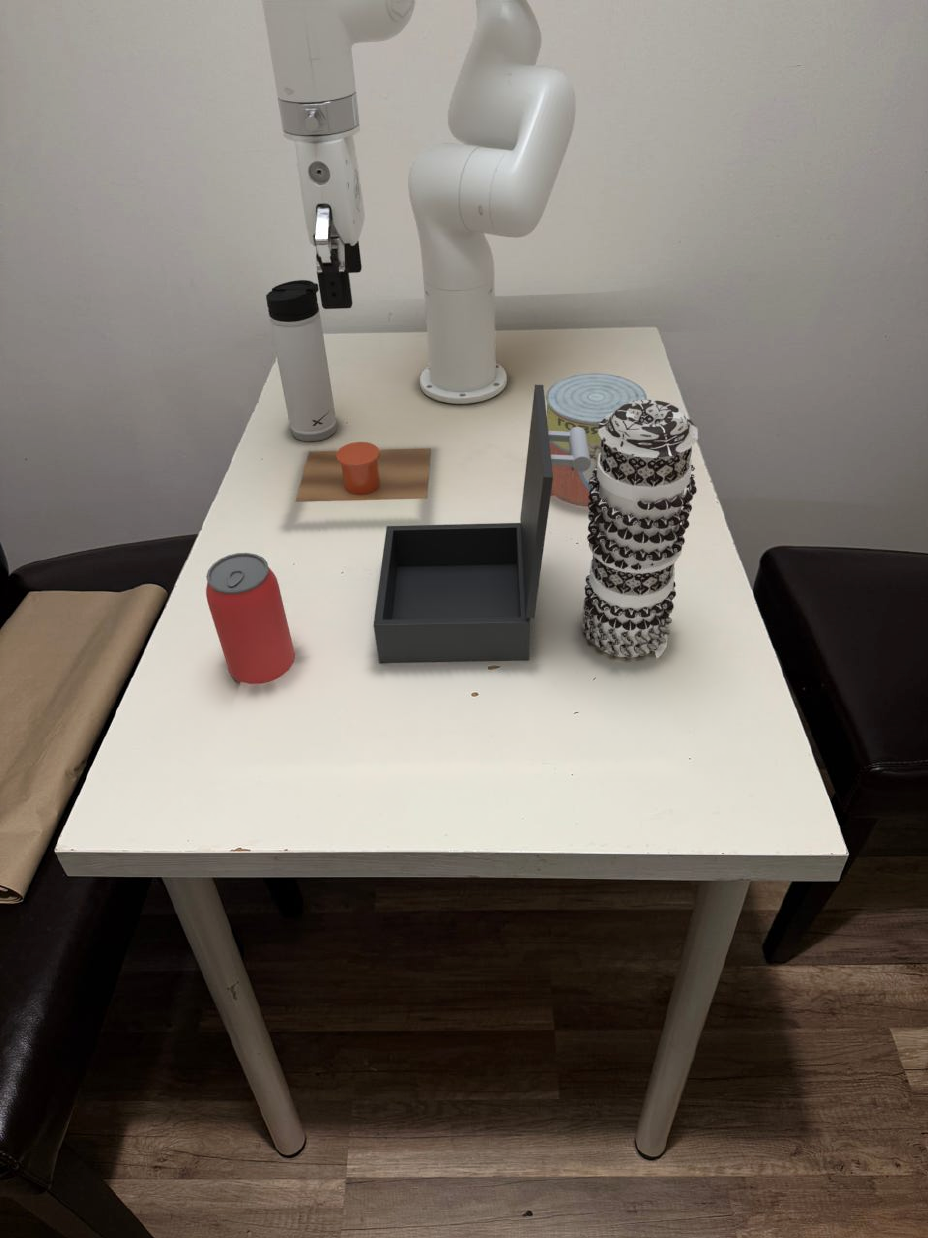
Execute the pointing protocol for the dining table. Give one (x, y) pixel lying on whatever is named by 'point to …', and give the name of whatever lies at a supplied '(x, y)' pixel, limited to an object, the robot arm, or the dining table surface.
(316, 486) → the mat
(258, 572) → the beer can
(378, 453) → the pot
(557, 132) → the robot arm
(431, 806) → the dining table surface
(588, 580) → the decorative candle
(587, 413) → the canned food
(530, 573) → the lid
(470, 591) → the open hinged box
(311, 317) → the travel mug
